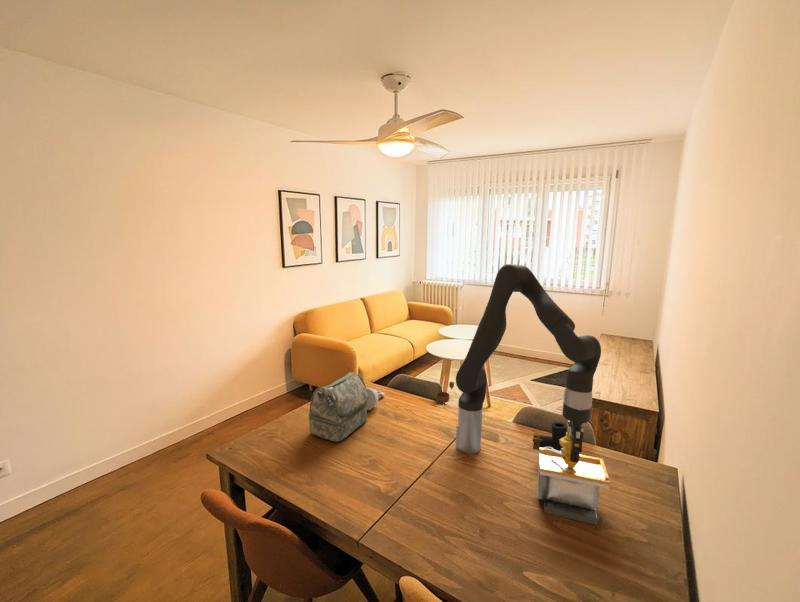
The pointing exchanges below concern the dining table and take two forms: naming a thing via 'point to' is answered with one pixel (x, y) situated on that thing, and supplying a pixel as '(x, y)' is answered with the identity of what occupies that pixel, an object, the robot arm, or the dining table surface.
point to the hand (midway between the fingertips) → (572, 453)
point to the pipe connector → (547, 441)
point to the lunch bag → (338, 408)
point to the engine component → (373, 397)
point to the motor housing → (571, 486)
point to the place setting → (443, 395)
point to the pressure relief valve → (565, 450)
